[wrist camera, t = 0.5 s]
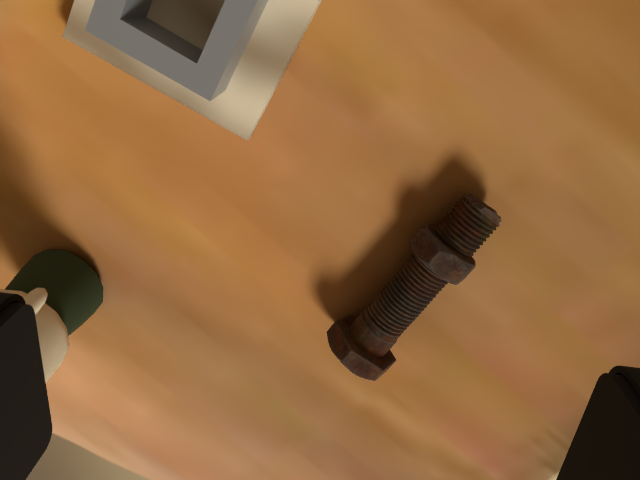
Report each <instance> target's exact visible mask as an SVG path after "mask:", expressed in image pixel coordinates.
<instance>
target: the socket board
mask: <svg viewBox="0 0 640 480" xmlns="http://www.w3.org/2000/svg"><path fill="white" fill-rule="evenodd" d="M321 1H322V0H268V2H267V4H266V6H265V8H264V10H263V13H262V15H261V17H260V19H259V21H258V23H257V25H256V27H255V29H254V31H253V34H252V36H251V38H250V40H249V42H248V44H247V46H246V48H245V50H244V52H243V54H242V57H241V59H240V61H239V63H238V65H237V67H236V69H235V71H234V73H233V75H232V78H231V80H230V82H229V84H228V86H227V88H226V90H225V91H224V92H223V93H221V94H220V95H218V96H217V97H216V98H214V99H213V100H211V101H209V100H207V99H205V98H203V97H202V96H200V95H198V94H196V93H195V92H193V91H191V90H189V89H188V88H186V87H184V86H182V85H180V84H179V83H177V82H175V81H173V80H172V79H170V78H168V77H166V76H165V75H163V74H161V73H159V72H158V71H156V70H154V69H152V68H151V67H149V66H147V65H145V64H143V63H142V62H140V61H138V60H136V59H135V58H133V57H131V56H129V55H128V54H126V53H124V52H122V51H121V50H119V49H117V48H115V47H114V46H112V45H110V44H108V43H107V42H105V41H103V40H101V39H99V38H98V37H96V36H94V35H92V34H91V33H89V32H87V31H85V28H86V25H87V23H88V20H89V17H90V14H91V11H92V8H93V5H94V2H95V0H74V3H73V6H72V9H71V12H70V15H69V18H68V21H67V24H66V27H65V30H64V33H63V36H62V37H64V38H65V39H67V40H69V41H71V42H72V43H74V44H76V45H78V46H80V47H81V48H83V49H85V50H87V51H88V52H90V53H92V54H94V55H96V56H97V57H99V58H101V59H103V60H105V61H106V62H108V63H110V64H112V65H113V66H115V67H117V68H119V69H121V70H122V71H124V72H126V73H128V74H129V75H131V76H133V77H135V78H137V79H138V80H140V81H142V82H144V83H146V84H147V85H149V86H151V87H153V88H154V89H156V90H158V91H160V92H162V93H163V94H165V95H167V96H169V97H170V98H172V99H174V100H176V101H178V102H179V103H181V104H183V105H185V106H186V107H188V108H190V109H192V110H194V111H195V112H197V113H199V114H201V115H203V116H204V117H206V118H208V119H210V120H211V121H213V122H215V123H217V124H219V125H220V126H222V127H224V128H226V129H227V130H229V131H231V132H233V133H235V134H236V135H238V136H240V137H242V138H243V139H245V140H247V141H248V140H249V138H250V137H251V136H252V134H253V132H254V130H255V128H256V126H257V124H258V122H259V120H260V118H261V116H262V115H263V113H264V111H265V109H266V107H267V105H268V103H269V101H270V99H271V97H272V95H273V93H274V91H275V89H276V88H277V86H278V84H279V82H280V80H281V78H282V76H283V74H284V72H285V70H286V68H287V66H288V64H289V62H290V60H291V59H292V57H293V55H294V53H295V51H296V49H297V47H298V45H299V43H300V41H301V39H302V37H303V35H304V33H305V32H306V30H307V28H308V26H309V24H310V22H311V20H312V18H313V16H314V14H315V12H316V10H317V8H318V6H319V4H320V3H321ZM224 2H225V0H153V1H152V3H151V6H150V8H149V11H148V13H147V16H146V17H147V18H148V19H150V20H152V21H154V22H155V23H157V24H159V25H160V26H162V27H164V28H166V29H167V30H169V31H171V32H172V33H174V34H176V35H178V36H179V37H181V38H183V39H184V40H186V41H188V42H190V43H191V44H193V45H195V46H196V47H198V48H200V49H202V50H203V49H204V47H205V44H206V42H207V40H208V38H209V35H210V33H211V31H212V29H213V26H214V24H215V22H216V20H217V17H218V15H219V13H220V11H221V8H222V6H223V4H224Z"/></svg>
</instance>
